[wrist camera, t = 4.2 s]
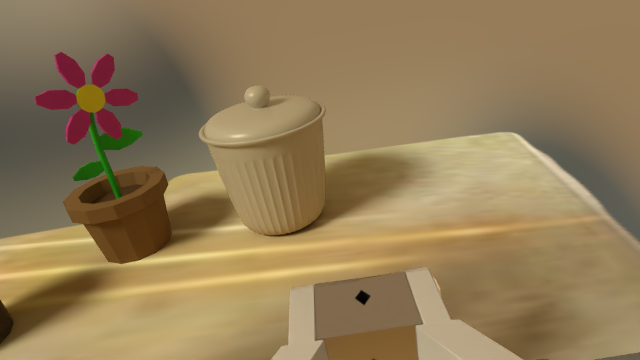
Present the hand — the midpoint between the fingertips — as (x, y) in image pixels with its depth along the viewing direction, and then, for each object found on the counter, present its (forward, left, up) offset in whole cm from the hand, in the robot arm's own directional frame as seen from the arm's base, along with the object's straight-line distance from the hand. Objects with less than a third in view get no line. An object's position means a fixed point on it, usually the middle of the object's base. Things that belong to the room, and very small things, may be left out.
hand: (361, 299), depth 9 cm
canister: (-36, +37, -27) cm, 58 cm away
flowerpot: (-55, +23, -27) cm, 65 cm away
